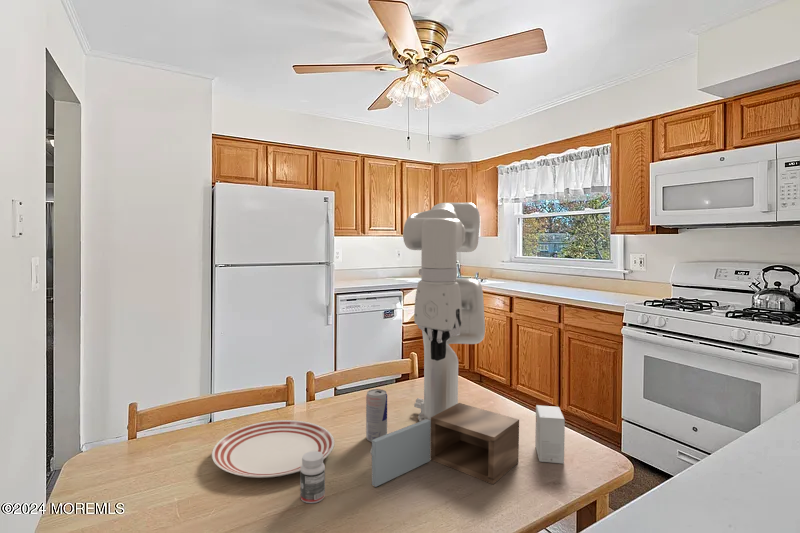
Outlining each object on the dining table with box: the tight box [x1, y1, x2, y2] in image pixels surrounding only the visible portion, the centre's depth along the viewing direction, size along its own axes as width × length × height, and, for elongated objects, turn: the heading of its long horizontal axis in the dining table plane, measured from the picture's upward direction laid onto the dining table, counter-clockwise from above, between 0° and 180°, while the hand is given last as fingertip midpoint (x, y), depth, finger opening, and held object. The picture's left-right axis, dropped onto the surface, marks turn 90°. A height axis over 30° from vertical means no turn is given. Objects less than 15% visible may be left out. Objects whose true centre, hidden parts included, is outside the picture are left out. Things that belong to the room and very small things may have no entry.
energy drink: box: [365, 388, 388, 443], centre depth 111 cm, size 5×5×12 cm
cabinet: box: [430, 402, 520, 485], centre depth 100 cm, size 16×12×10 cm
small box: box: [534, 404, 566, 465], centre depth 103 cm, size 8×6×10 cm
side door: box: [369, 419, 431, 488], centre depth 95 cm, size 16×3×9 cm, turn 132°
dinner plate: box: [211, 419, 335, 479], centre depth 102 cm, size 27×27×3 cm
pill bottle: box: [299, 451, 326, 504], centre depth 86 cm, size 5×5×8 cm
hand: (438, 358), depth 96 cm, fingers closed
